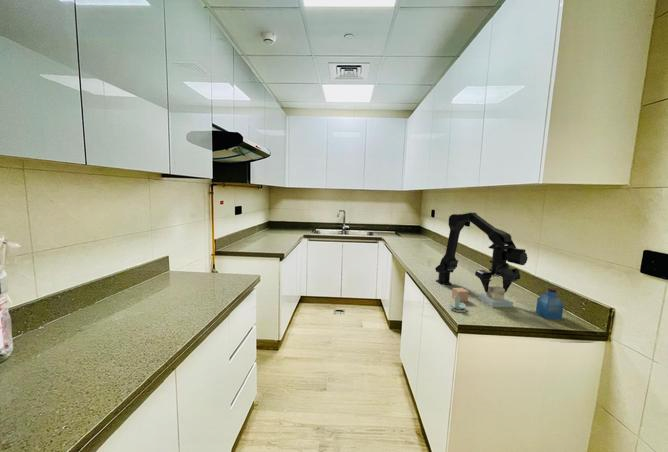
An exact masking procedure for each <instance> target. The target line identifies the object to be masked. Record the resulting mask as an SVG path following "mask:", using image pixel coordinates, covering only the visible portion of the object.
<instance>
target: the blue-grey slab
mask: <svg viewBox="0 0 668 452" xmlns="http://www.w3.org/2000/svg"><path fill="white" fill-rule="evenodd" d="M486 294H487V293H478V294H477V299H478V300H479V301H481V302H482V303H484V304H486V305H487V306H490V307H491V308H513V307H514V301H512V300H511V299H509V298H506V297H505V296H504V300H493V299H491V298H490V297H488V296H486Z"/></svg>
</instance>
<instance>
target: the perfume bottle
mask: <svg viewBox="0 0 668 452" xmlns="http://www.w3.org/2000/svg"><path fill="white" fill-rule="evenodd" d="M546 288H547V289H546V291H545V293H542V294H541V295H540V296H539V297H537V299H536V306H535V307H536V309H535V313H536V314H538V315H539V316H541V317H542V318H544V319H547V320H548V319H549V320H559V321H561V320H562V319H563V313H564V307H565V305H564V304H563V302H562V300H561V298H560V297H558V296H557V295H558V292H557V290H558V288H555V287H550V286H549V287H548V286H547V287H546Z"/></svg>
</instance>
